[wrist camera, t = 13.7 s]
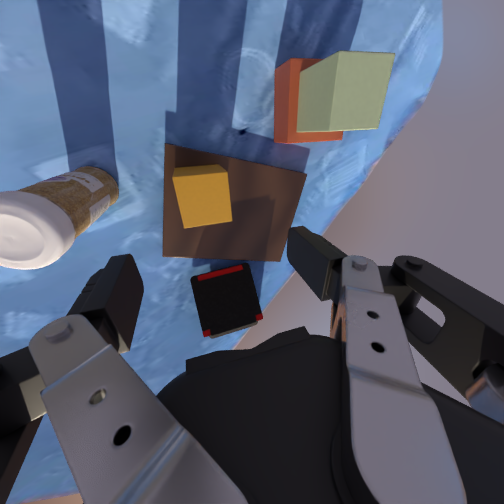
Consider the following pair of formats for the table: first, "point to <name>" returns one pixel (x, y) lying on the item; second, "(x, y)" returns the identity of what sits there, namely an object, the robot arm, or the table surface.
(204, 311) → the handheld gaming console
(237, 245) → the board
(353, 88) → the middle block
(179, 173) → the top block
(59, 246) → the spice jar
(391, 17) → the table surface
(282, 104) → the base block
